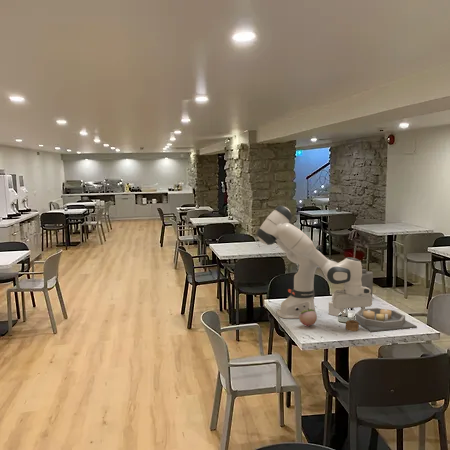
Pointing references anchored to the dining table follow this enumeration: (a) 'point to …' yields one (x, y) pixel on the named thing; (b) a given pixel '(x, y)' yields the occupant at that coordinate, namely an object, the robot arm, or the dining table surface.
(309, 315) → the decorative fruit
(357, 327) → the planet gear
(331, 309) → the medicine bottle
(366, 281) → the flask
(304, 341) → the dining table surface
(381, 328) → the grey octagonal tray
